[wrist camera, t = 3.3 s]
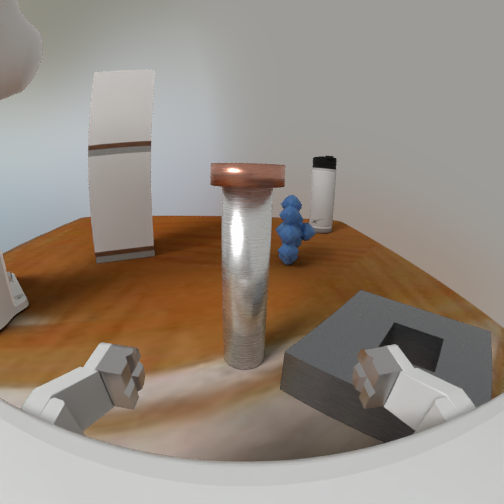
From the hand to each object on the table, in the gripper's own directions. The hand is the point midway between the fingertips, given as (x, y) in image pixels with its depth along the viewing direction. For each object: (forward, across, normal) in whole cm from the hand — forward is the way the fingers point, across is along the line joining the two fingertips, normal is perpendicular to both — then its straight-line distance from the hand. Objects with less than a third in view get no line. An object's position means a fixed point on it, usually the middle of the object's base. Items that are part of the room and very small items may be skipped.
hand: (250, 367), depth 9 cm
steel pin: (+12, 0, +10) cm, 16 cm away
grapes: (+36, -8, +10) cm, 38 cm away
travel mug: (+62, -20, +10) cm, 66 cm away
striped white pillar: (+42, +24, +10) cm, 49 cm away
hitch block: (+7, -13, +10) cm, 18 cm away
